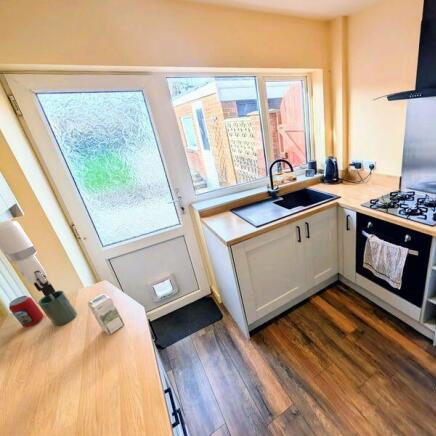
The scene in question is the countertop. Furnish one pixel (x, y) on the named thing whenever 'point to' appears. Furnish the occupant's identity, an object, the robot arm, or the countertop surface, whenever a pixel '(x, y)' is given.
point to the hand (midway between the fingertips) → (46, 291)
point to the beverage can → (26, 311)
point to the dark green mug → (58, 308)
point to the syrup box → (106, 313)
